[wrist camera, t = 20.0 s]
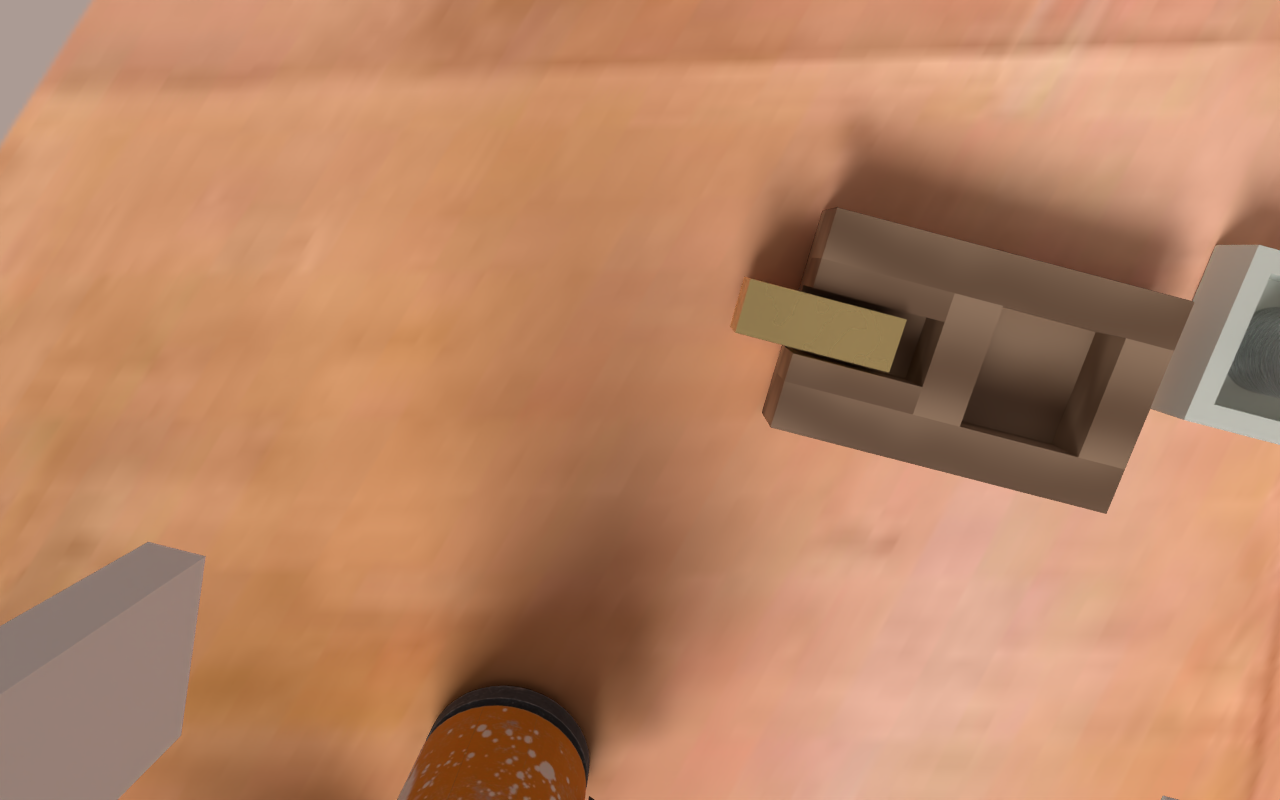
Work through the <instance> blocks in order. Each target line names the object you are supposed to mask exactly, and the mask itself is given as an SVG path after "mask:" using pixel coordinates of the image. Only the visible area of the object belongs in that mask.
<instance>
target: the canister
mask: <svg viewBox="0 0 1280 800" xmlns="http://www.w3.org/2000/svg"><path fill="white" fill-rule="evenodd" d="M588 773H589V752H588V747H587V744H586V740H585V737H584V735H583V733H582V731H581V729H580V727H579V726H578V724H577V723H576V721H575V720H574V719H573V717H572V716H571V715H570V714H569V713H568V712H567V711H566V710H565V709H564V708H563V707H561V706H560V705H559V704H557V703H556V702H555V701H553V700H551V699H550V698H548V697H546V696H544V695H542V694H540V693H537V692H535V691H532V690H529V689H525V688H520V687H513V686H491V687H486V688H481V689H478V690H475V691H472V692H469V693H467V694H465V695H463V696H461V697H459V698H458V699H456V700H455V701H454V702H452V703H451V704H450V705H448V706H447V707H446V708H445V710H444V711H443V712H442V713H441V714H440V715H439V717H438V718H437V720H436V721H435V723H434V725H433V727H432V729H431V731H430V733H429V735H428V737H427V739H426V742H425V744H424V745H423V747H422V749H421V751H420V754H419V756H418V758H417V760H416V762H415V764H414V766H413V768H412V770H411V772H410V774H409V776H408V778H407V780H406V782H405V785H404V787H403V789H402V791H401V793H400V795H399V797H398V799H397V800H585V793H586V787H587V780H588ZM589 800H594V799H593V798H591V797H590V796H589Z"/></svg>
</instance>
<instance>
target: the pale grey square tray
mask: <svg viewBox="0 0 1280 800" xmlns="http://www.w3.org/2000/svg"><path fill="white" fill-rule="evenodd" d="M1193 302H1194V305H1193V307H1192V309H1191V312H1190V314H1189V317H1188V319H1187V321H1186V324H1185V326H1184V329H1183V331H1182V333H1181V336H1180V338H1179V341H1178V343H1177V345H1176V348H1175V350H1174V353H1173V355H1172V357H1171V360H1170V362H1169V365H1168V367H1167V369H1166V372H1165V374H1164V377H1163V379H1162V381H1161V384H1160V386H1159V389H1158V391H1157V393H1156V396H1155V398H1154V401H1153V403H1152V405H1151V408H1150V409H1153V410H1156V411H1159V412H1162V413H1165V414H1168V415H1171V416H1174V417H1177V418H1180V419H1183V420H1187V421H1190V422H1194V423H1198V424H1202V425H1206V426H1210V427H1213V428H1217V429H1221V430H1225V431H1229V432H1233V433H1236V434H1240V435H1244V436H1248V437H1252V438H1256V439H1259V440H1263V441H1267V442H1271V443H1275V444H1279V445H1280V399H1279V398H1275V397H1271V396H1267V395H1263V394H1259V393H1255V392H1251V391H1248V390H1245V389H1243V388H1241V387H1239V386H1238V385H1236V384H1235V383H1234V382H1233V381H1232V380H1231V378H1230V377H1229V375H1228V371H1229V369H1230V367H1231V365H1232V362H1233V360H1234V358H1235V355H1236V353H1237V351H1238V349H1239V346H1240V344H1241V342H1242V339H1243V337H1244V335H1245V332H1246V330H1247V328H1248V326H1249V323H1250V321H1251V319H1252V316H1253V314H1254V312H1256V311H1258V310H1261V309H1264V308H1270V307H1280V250H1277V249H1273V248H1269V247H1265V246H1262V245H1216V246H1215V248H1214V251H1213V253H1212V255H1211V258H1210V260H1209V263H1208V265H1207V267H1206V270H1205V272H1204V275H1203V277H1202V279H1201V282H1200V284H1199V287H1198V289H1197V291H1196V294H1195V296H1194V299H1193Z"/></svg>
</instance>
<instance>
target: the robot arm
mask: <svg viewBox="0 0 1280 800" xmlns="http://www.w3.org/2000/svg"><path fill="white" fill-rule="evenodd" d="M205 557H206V556H202V555H198V554H194V553H190V552H186V551H182V550H178V549H174V548H170V547H166V546H162V545H158V544H154V543H150V542H147V543H145V544H144V545H142V546H140V547H138V548H137V549H135V550H133V551H131V552H130V553H128V554H126V555H124V556H122V557H121V558H119V559H117V560H115V561H114V562H112V563H110V564H108V565H107V566H105V567H103V568H101V569H100V570H98V571H96V572H94V573H93V574H91V575H89V576H87V577H86V578H84V579H82V580H80V581H79V582H77V583H75V584H73V585H72V586H70V587H68V588H66V589H65V590H63V591H61V592H59V593H58V594H56V595H54V596H52V597H51V598H49V599H47V600H45V601H44V602H42V603H40V604H38V605H37V606H35V607H33V608H31V609H30V610H28V611H26V612H24V613H22V614H21V615H19V616H17V617H15V618H14V619H12V620H10V621H8V622H7V623H5V624H3V625H1V626H0V800H118V799H119V798H120V797H121V796H122V795H123V794H124V793H125V792H126V790H127V789H128V788H129V787H130V786H131V785H132V784H133V783H134V782H135V781H136V780H137V779H138V778H139V777H140V776H141V775H142V774H143V773H144V772H145V771H146V770H147V769H148V768H149V767H150V766H151V765H152V764H153V763H154V762H155V761H156V760H157V759H158V758H159V757H160V756H161V755H162V754H163V753H164V752H165V751H166V750H167V749H168V748H169V747H170V746H171V745H172V744H173V743H174V742H175V741H176V740H177V739H178V738H179V737H180V736H181V732H182V725H183V717H184V710H185V703H186V695H187V688H188V681H189V673H190V666H191V659H192V652H193V644H194V637H195V630H196V622H197V615H198V608H199V601H200V593H201V586H202V579H203V571H204V564H205ZM1161 800H1178V799H1174V798H1170V797H1166V796H1162V799H1161Z"/></svg>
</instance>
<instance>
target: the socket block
mask: <svg viewBox="0 0 1280 800" xmlns="http://www.w3.org/2000/svg"><path fill="white" fill-rule="evenodd" d="M799 291H802V292H806V293H810V294H813V295H817V296H821V297H825V298H829V299H832V300H836V301H840V302H844V303H848V304H852V305H855V306H859V307H863V308H867V309H871V310H874V311H878V312H882V313H886V314H890V315H893V316H896V317H900V318H903V319H907V321H906V324H905V327H904V330H903V333H902V336H901V339H900V342H899V345H898V348H897V351H896V354H895V357H894V360H893V363H892V366H891V369H890V372H885V371H881V370H877V369H873V368H870V367H866V366H862V365H858V364H854V363H850V362H847V361H843V360H839V359H835V358H831V357H827V356H823V355H820V354H816V353H812V352H808V351H804V350H800V349H797V348H793V347H789V346H785V345H782V347H781V351H780V354H779V357H778V361H777V364H776V367H775V371H774V374H773V377H772V381H771V384H770V387H769V391H768V394H767V397H766V401H765V404H764V407H763V411H762V414H763V415H764V417H765V419H766V420H767V422H768V424H769V425H770V427H771V428H775V429H779V430H783V431H787V432H791V433H795V434H799V435H802V436H806V437H810V438H814V439H818V440H822V441H826V442H830V443H834V444H837V445H841V446H845V447H849V448H853V449H857V450H861V451H865V452H868V453H872V454H876V455H880V456H884V457H888V458H892V459H896V460H899V461H903V462H907V463H911V464H915V465H919V466H923V467H927V468H931V469H934V470H938V471H942V472H946V473H950V474H954V475H958V476H962V477H965V478H969V479H973V480H977V481H981V482H985V483H989V484H993V485H996V486H1000V487H1004V488H1008V489H1012V490H1016V491H1020V492H1024V493H1028V494H1031V495H1035V496H1039V497H1043V498H1047V499H1051V500H1055V501H1059V502H1062V503H1066V504H1070V505H1074V506H1078V507H1082V508H1086V509H1090V510H1093V511H1097V512H1101V513H1105V514H1106V513H1107V511H1108V508H1109V506H1110V504H1111V501H1112V499H1113V496H1114V494H1115V492H1116V489H1117V487H1118V484H1119V482H1120V480H1121V477H1122V475H1123V472H1124V470H1125V468H1126V465H1127V463H1128V460H1129V458H1130V456H1131V453H1132V451H1133V448H1134V446H1135V444H1136V441H1137V439H1138V436H1139V434H1140V432H1141V429H1142V427H1143V425H1144V422H1145V420H1146V417H1147V415H1148V413H1149V410H1150V408H1151V405H1152V403H1153V401H1154V398H1155V396H1156V393H1157V391H1158V389H1159V386H1160V384H1161V381H1162V379H1163V377H1164V374H1165V372H1166V369H1167V367H1168V365H1169V362H1170V360H1171V357H1172V355H1173V353H1174V350H1175V348H1176V345H1177V343H1178V341H1179V338H1180V336H1181V333H1182V331H1183V329H1184V326H1185V324H1186V321H1187V319H1188V317H1189V314H1190V312H1191V309H1192V307H1193V305H1194V302H1193V301H1189V300H1186V299H1182V298H1178V297H1174V296H1170V295H1167V294H1163V293H1159V292H1155V291H1152V290H1148V289H1144V288H1140V287H1136V286H1133V285H1129V284H1125V283H1121V282H1117V281H1114V280H1110V279H1106V278H1102V277H1099V276H1095V275H1091V274H1087V273H1083V272H1080V271H1076V270H1072V269H1068V268H1065V267H1061V266H1057V265H1053V264H1049V263H1046V262H1042V261H1038V260H1034V259H1030V258H1027V257H1023V256H1019V255H1015V254H1012V253H1008V252H1004V251H1000V250H996V249H993V248H989V247H985V246H981V245H978V244H974V243H970V242H966V241H962V240H959V239H955V238H951V237H947V236H943V235H940V234H936V233H932V232H928V231H925V230H921V229H917V228H913V227H909V226H906V225H902V224H898V223H894V222H891V221H887V220H883V219H879V218H875V217H872V216H868V215H864V214H860V213H856V212H853V211H849V210H845V209H841V208H838V207H837V208H833V209H829V210H824V211H822V214H821V217H820V221H819V224H818V227H817V231H816V234H815V237H814V241H813V244H812V247H811V251H810V254H809V257H808V261H807V264H806V267H805V271H804V274H803V277H802V281H801V284H800V287H799Z"/></svg>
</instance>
